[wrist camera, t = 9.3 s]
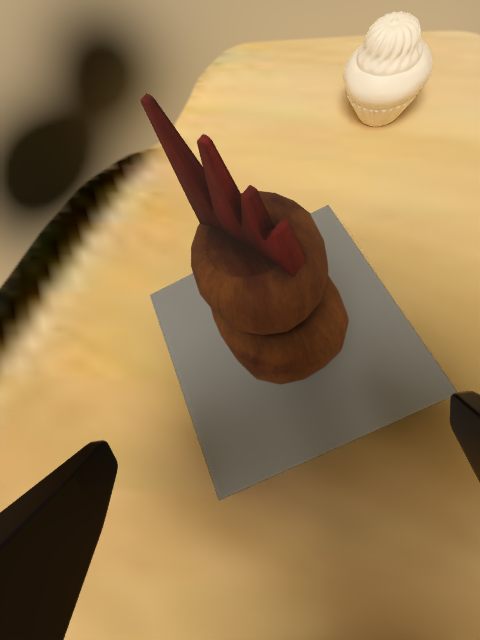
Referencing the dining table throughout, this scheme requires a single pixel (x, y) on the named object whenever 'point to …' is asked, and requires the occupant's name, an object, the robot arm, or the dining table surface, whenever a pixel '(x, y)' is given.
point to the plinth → (304, 395)
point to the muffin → (387, 69)
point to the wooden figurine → (256, 266)
